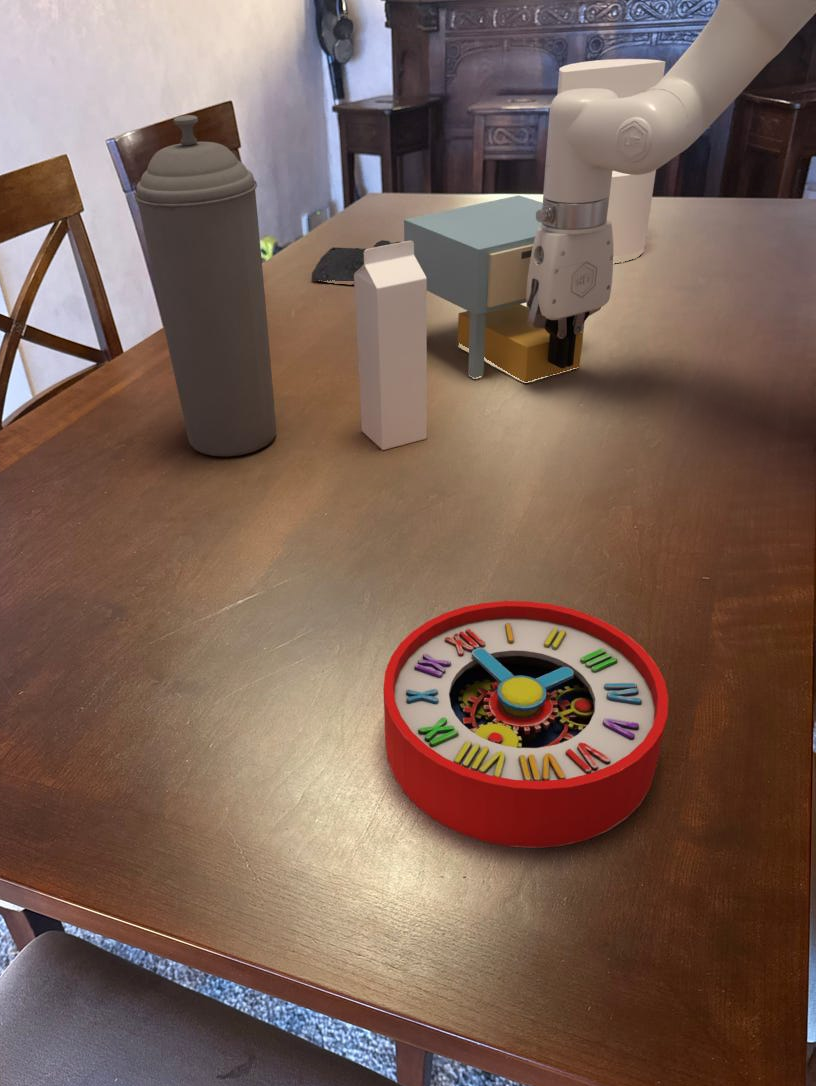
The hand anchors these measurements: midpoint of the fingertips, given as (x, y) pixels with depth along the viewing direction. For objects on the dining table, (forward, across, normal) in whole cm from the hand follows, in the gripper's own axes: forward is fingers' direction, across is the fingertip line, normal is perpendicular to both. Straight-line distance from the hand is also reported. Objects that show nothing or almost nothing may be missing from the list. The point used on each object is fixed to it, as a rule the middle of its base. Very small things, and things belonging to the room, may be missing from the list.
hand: (560, 363), depth 116 cm
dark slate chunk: (+2, +4, +55) cm, 55 cm away
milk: (+3, -26, -1) cm, 26 cm away
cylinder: (+3, +40, +41) cm, 58 cm away
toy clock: (+3, -44, -51) cm, 67 cm away
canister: (+3, -43, +9) cm, 44 cm away
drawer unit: (+2, 0, +15) cm, 15 cm away
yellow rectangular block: (+2, 0, +10) cm, 10 cm away
